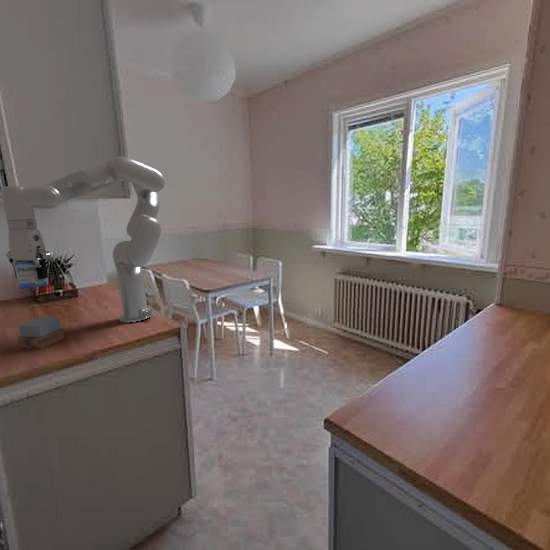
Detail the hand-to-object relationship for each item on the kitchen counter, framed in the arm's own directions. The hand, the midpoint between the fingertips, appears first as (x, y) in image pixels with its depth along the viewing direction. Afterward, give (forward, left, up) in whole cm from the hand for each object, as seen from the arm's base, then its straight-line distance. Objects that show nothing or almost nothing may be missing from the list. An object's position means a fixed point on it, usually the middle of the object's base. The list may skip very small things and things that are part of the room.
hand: (32, 278), depth 113 cm
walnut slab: (0, 0, -23) cm, 23 cm away
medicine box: (0, 0, -3) cm, 3 cm away
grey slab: (0, 0, -19) cm, 19 cm away
